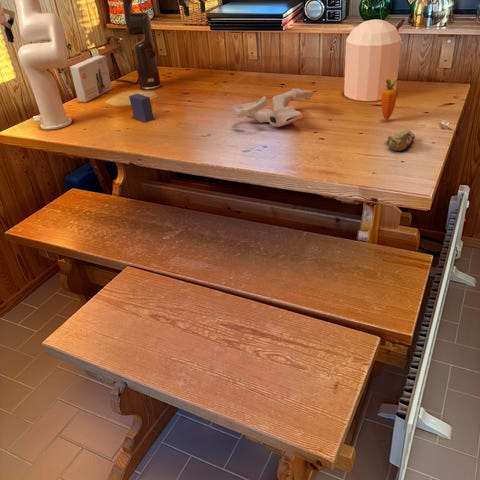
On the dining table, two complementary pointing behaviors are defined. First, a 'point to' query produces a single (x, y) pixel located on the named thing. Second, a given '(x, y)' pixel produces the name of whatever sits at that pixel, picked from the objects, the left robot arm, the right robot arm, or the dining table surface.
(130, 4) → the right robot arm
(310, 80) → the dining table surface
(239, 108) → the white branched piece
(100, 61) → the skincare box
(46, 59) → the left robot arm
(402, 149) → the rock
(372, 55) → the container
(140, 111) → the block
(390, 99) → the carrot
